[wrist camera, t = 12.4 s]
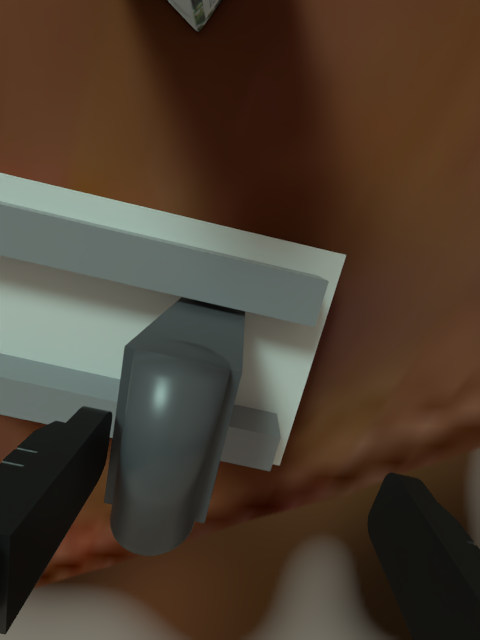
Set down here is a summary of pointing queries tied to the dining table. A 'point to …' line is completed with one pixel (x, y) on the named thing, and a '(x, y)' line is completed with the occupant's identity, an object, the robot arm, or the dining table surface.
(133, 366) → the breaker lever
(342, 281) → the dining table surface
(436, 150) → the dining table surface
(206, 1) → the syrup box
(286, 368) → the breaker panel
